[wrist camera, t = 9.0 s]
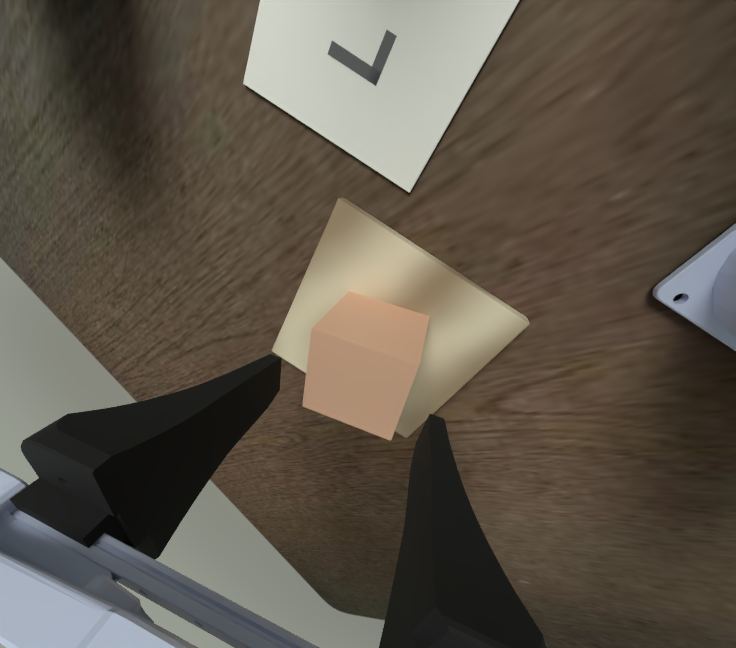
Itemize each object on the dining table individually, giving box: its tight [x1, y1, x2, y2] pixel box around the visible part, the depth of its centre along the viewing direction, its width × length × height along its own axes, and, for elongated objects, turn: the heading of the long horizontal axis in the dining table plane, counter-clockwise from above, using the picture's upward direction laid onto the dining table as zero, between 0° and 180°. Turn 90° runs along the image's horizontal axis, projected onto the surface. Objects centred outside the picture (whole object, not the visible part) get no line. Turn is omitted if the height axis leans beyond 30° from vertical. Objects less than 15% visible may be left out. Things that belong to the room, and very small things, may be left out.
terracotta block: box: [302, 291, 430, 441], centre depth 16 cm, size 5×5×5 cm
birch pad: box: [272, 198, 530, 438], centre depth 18 cm, size 12×12×1 cm
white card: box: [243, 0, 520, 193], centre depth 12 cm, size 10×10×1 cm
